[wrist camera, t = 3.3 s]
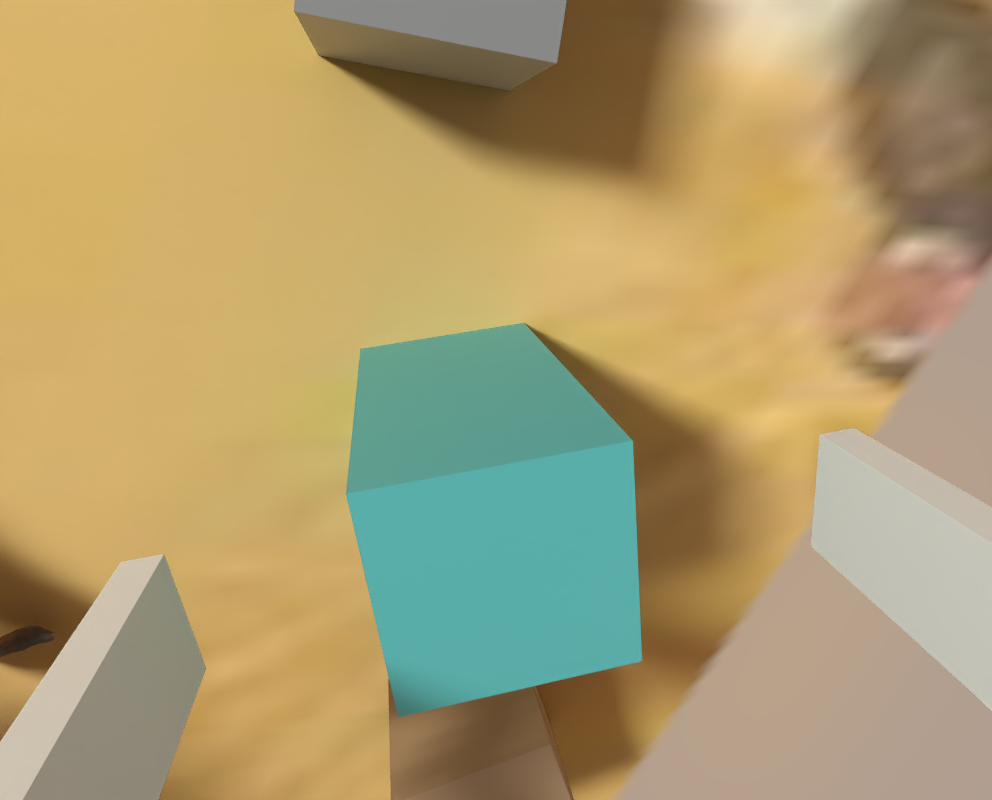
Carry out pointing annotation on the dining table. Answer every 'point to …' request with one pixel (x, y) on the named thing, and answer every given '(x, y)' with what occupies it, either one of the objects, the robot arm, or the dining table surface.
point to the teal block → (491, 518)
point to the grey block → (440, 36)
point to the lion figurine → (24, 639)
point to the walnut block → (477, 751)
